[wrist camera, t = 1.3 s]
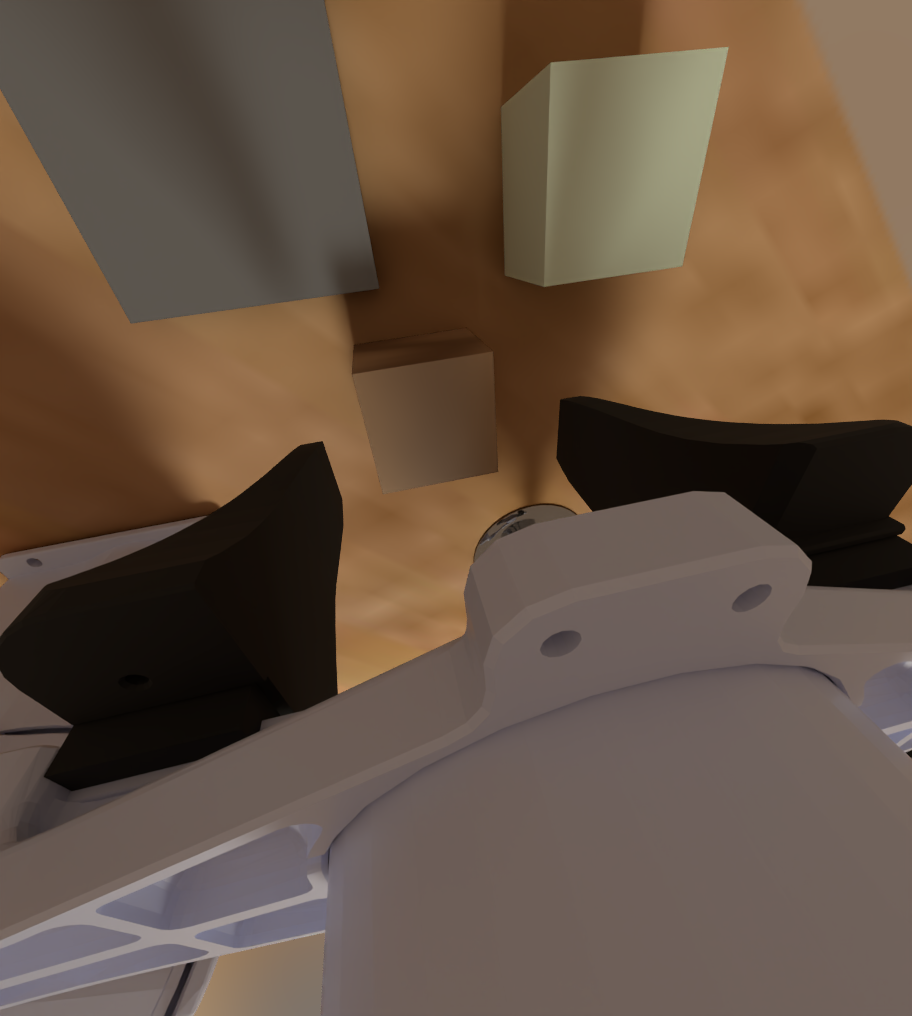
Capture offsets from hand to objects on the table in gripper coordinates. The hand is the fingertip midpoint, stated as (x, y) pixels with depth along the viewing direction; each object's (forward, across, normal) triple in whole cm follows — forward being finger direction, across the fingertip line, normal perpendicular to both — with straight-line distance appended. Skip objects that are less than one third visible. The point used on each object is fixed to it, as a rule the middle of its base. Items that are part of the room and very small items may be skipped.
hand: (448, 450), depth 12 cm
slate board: (+6, +5, -8) cm, 11 cm away
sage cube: (+6, -6, -6) cm, 10 cm away
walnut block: (+6, 0, 0) cm, 6 cm away
